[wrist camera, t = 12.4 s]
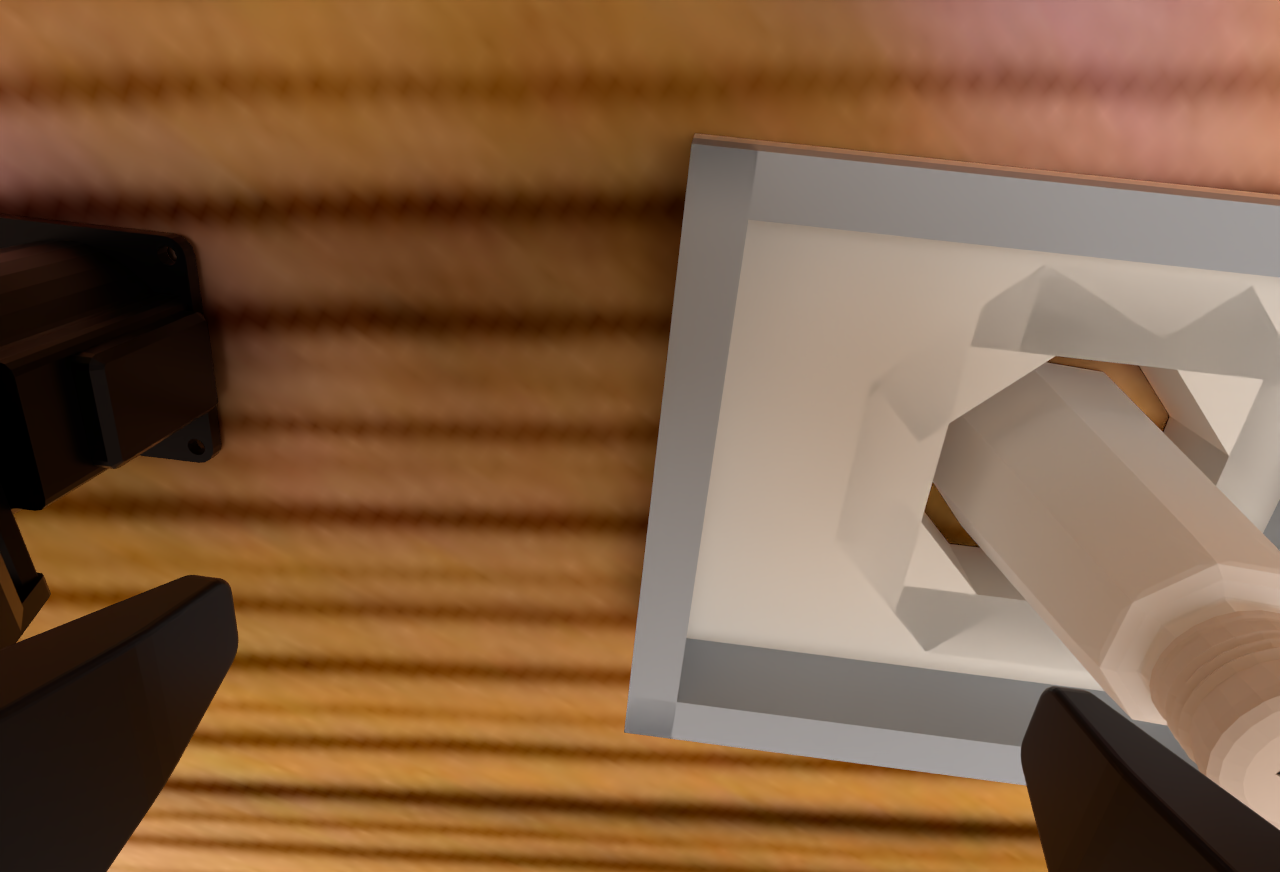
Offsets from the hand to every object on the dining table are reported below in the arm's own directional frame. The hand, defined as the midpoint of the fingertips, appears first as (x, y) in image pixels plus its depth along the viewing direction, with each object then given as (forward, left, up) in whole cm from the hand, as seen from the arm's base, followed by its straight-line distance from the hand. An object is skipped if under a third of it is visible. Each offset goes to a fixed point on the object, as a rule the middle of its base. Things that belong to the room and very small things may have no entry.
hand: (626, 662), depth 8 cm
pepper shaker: (+10, -2, -13) cm, 17 cm away
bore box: (+8, -2, -13) cm, 15 cm away
